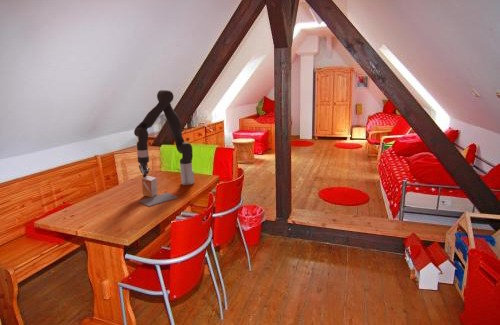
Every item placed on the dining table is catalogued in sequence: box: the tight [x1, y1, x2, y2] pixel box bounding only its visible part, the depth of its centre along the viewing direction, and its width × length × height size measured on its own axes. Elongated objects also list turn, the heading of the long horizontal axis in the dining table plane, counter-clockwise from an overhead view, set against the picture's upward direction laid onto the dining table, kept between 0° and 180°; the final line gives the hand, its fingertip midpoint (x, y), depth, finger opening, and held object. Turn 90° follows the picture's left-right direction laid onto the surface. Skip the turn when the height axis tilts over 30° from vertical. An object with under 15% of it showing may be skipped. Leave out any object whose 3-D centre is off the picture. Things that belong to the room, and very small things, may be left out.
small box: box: [141, 175, 158, 198], centre depth 217 cm, size 8×6×13 cm
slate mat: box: [138, 192, 179, 208], centre depth 210 cm, size 22×14×1 cm, turn 134°
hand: (145, 179), depth 220 cm, fingers closed
